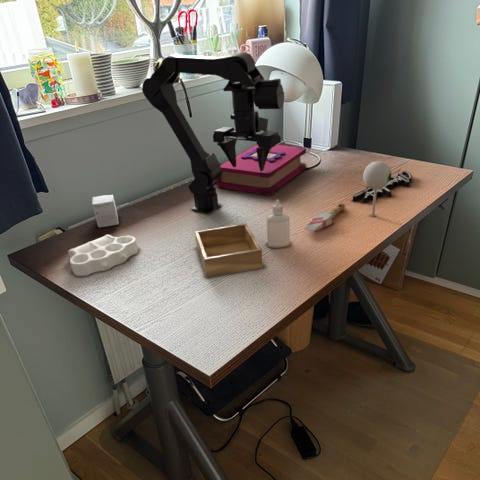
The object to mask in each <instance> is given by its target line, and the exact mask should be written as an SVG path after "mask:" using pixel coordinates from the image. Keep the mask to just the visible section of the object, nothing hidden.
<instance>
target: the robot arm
mask: <svg viewBox="0 0 480 480" xmlns="http://www.w3.org/2000/svg"><path fill="white" fill-rule="evenodd" d="M180 74H192V75H193V74H194V75H210V76H216V77H220V78H221V79H223V80H225V81H226V80H227V84H226V85H225V86H224V87H223V88H222V89H223V90H222V91H223V92H231V102H232V103H231V104H232V113H231V114H230V120H233V127H231V126H222V127H220V128H217V129H216V130H214V131H213V133H212V142H213V143H216V146H219V147H220V149H221V150H222V151H223V153H224V154H225V156H226V158H227V159H228V160H229V161H230V163H231V165H232V166H233V167H236V156H237V154H236V145H237V141H246V142H255V143H256V144H257V145H258V146H259V147H258V148H256V150H257V157H258V163H259V168H260V171H263V170H264V167H265V163H266V160H267V157H268V154H269V151H270V150H271V148H272V147H274V146H276V145H279V144H281V142H282V141H281V138H282V137H281V134H280V132H279V131H276V130H268V127H269V119H268V118H265V117H262V116H261V117H260V115H259V111H258V110H282V109H283V108H284V107H283V106H284V102H285V91H284V87H283V85H282V79H281V78H274V79H265V77H264V76H263V74H262V73H261V71H260V70H259V69H258V67H257V66H256V62H255V59H254V57H253V56H252V55H251V54H250V53H249V52H239V53H233V54H229V55H223V56H211V55H210V56H209V55H208V56H207V55H206V56H205V55H191V54H190V55H189V54H179V53H173V54H171V55H168V56H166V58H165V60H163V62H162V63H161V65H159V66H158V68H157V69H156V70H155V71H154V72H153V73H152V74H151V75H150V76H149V77H146V78H145V79H144V80H143V83H142V87H141V88H142V89H141V90H142V94H143V96H144V97H145V98H146V100H147V101H148V102H149V104H150V105H151V106H152V107H153V108H155V109H156V110H157V111H159V112H160V113H161V114H162V116H163V117H164V118H165V120H166V122H167V123H168V125H169V127H170V129H171V130H172V132H173V133H174V135H175V137H176V138H177V140H178V142H179V143H180V146H181V147H182V149H183V150H184V152H185V154H186V155H187V157H188V159H189V162H190V167H191V173H192V175H193V178H194V179H193V180H192V181H191V182H190V184H189V185H188V186H187V187H188V189H189V191H190V194H193V200H194V206H193V207H192V208H191V210H192V211H195V212H201V213H204V214H205V213H206V214H210V213H211V212H213V211H215V210H217V209H218V208H220V207H221V203H219V199H218V193H217V190H216V187H215V186H217V185H216V184H217V181H218V179H219V178H220V177H221V174H222V169H221V167H220V166H221V164H222V163H221V162H220V161H219V160H218V157H217V155H216V154H215V153H214V152H213V153H211V154H210V153H208V152H207V151H206V150H205V149H204V148H203V145H202V144H201V142H200V140H199V139H198V137H197V135H196V134H195V132H194V130H193V128H192V127H191V125H190V123H189V122H188V120H187V118H186V117H185V115H184V112H183V111H182V109H181V108H180V106H179V104H178V99H177V94H176V93H177V92H176V89H175V87H174V84H175V83H176V81H177V80H178V77H179V75H180ZM256 107H257V109H258V110H256ZM262 131H263V132H262ZM260 132H262V133H260Z"/></svg>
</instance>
